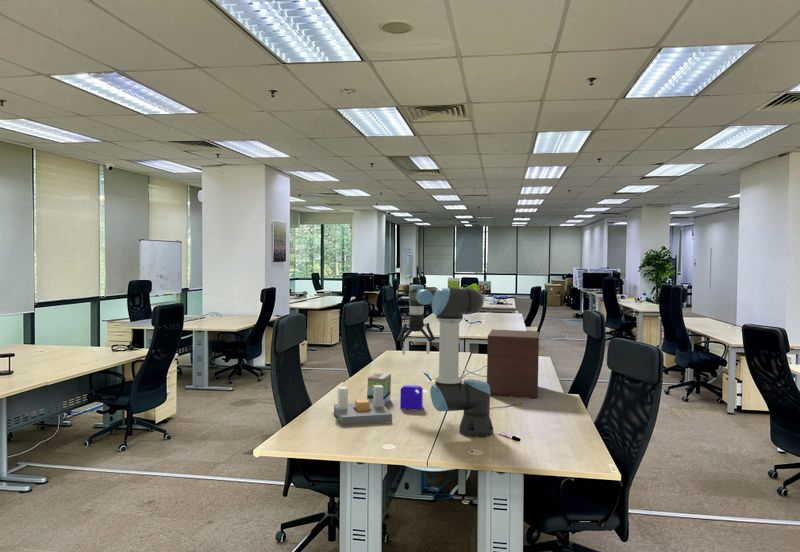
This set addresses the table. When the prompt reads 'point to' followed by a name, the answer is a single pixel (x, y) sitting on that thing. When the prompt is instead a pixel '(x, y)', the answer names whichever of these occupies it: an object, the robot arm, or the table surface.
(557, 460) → the table surface
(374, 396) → the light grey tall block
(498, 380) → the storage cube
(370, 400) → the tea box
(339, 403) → the block
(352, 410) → the panel
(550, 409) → the table surface
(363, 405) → the button
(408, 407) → the bracket
